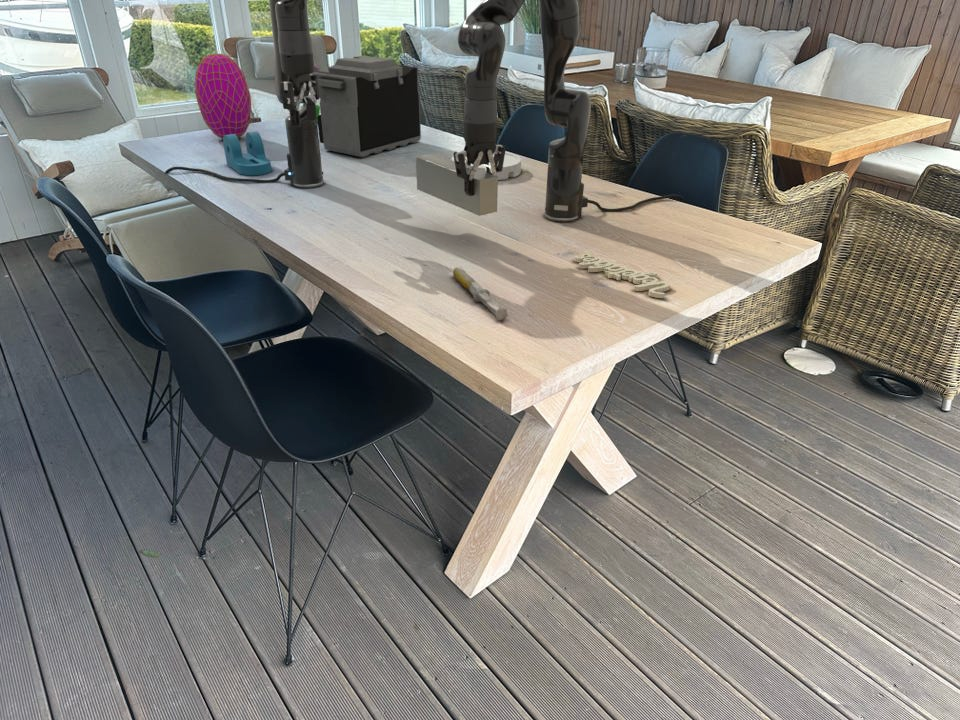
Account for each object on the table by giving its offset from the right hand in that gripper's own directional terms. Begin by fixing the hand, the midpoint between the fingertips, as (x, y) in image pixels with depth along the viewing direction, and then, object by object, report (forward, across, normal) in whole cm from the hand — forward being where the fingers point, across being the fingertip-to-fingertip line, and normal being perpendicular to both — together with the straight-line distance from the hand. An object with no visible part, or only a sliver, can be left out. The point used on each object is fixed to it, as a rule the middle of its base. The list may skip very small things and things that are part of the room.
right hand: (479, 192), depth 163 cm
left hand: (-13, -26, +37) cm, 47 cm away
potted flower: (+13, +33, +156) cm, 160 cm away
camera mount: (+14, -17, +102) cm, 104 cm away
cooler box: (+13, +32, +106) cm, 111 cm away
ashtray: (+14, +45, +53) cm, 71 cm away
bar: (+4, 0, +10) cm, 11 cm away
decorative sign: (+14, +15, -34) cm, 39 cm away
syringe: (+14, -18, -23) cm, 32 cm away
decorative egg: (+13, -6, +147) cm, 148 cm away
